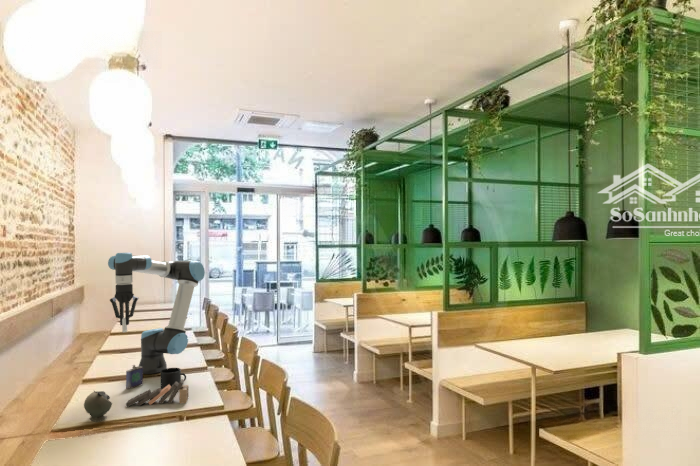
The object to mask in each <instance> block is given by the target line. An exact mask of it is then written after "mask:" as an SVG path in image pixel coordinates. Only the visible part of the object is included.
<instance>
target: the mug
mask: <svg viewBox="0 0 700 466" xmlns="http://www.w3.org/2000/svg"><path fill="white" fill-rule="evenodd" d="M181 370H182V369H181V368H180V367H167V369H163V370H161V372H159V373H160V374H159V375H160V388H161V389H164V388H165V387H166V386H167V385H170V386H171V387H172V385H173V384H174V383H175V382H176V381H177V382H178V383H180V381H181V380H182V376H184V379H183V380H185V381H186V380H187V375H186V373H183V372H182V371H181Z"/></svg>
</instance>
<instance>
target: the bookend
mask: <svg viewBox="0 0 700 466" xmlns="http://www.w3.org/2000/svg"><path fill="white" fill-rule="evenodd" d="M178 393H179V400H178V402H179V403H180V404H186V402H188V399H189V398H188V397H189V393H190V392H189V384H183V385H182V387H181V388H180V390H179V391H178ZM179 403H178V404H179Z"/></svg>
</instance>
